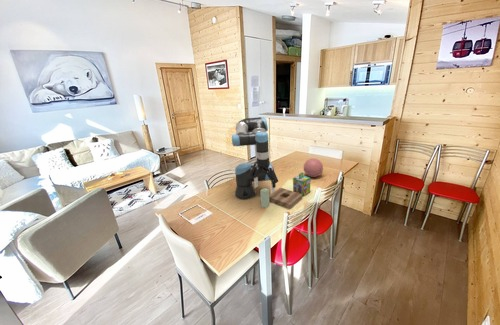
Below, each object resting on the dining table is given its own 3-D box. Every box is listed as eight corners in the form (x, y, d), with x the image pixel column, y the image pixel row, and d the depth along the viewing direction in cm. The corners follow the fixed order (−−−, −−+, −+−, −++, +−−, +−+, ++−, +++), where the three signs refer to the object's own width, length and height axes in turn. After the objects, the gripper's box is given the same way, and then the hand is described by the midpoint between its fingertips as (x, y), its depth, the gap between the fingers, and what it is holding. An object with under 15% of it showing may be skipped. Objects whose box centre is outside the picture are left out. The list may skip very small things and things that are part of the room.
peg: (261, 206, 140) (260, 190, 135) (264, 203, 142) (264, 188, 138) (265, 208, 137) (265, 192, 133) (269, 205, 140) (268, 189, 136)
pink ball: (328, 173, 180) (329, 156, 175) (316, 181, 167) (317, 163, 162) (312, 169, 191) (312, 153, 185) (299, 177, 178) (300, 159, 173)
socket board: (267, 200, 146) (267, 196, 144) (280, 191, 157) (280, 187, 155) (289, 209, 134) (289, 204, 133) (302, 198, 145) (302, 194, 144)
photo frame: (192, 224, 126) (178, 213, 138) (193, 225, 126) (178, 214, 138) (212, 212, 135) (197, 203, 147) (212, 214, 136) (197, 205, 148)
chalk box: (303, 196, 147) (303, 177, 142) (292, 192, 154) (292, 174, 149) (310, 191, 153) (311, 173, 148) (300, 188, 160) (300, 170, 154)
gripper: (243, 156, 133) (246, 186, 140) (276, 163, 117) (277, 197, 124) (251, 153, 138) (253, 182, 146) (283, 159, 122) (284, 192, 129)
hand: (264, 189), depth 135 cm, fingers open, 13 cm apart
